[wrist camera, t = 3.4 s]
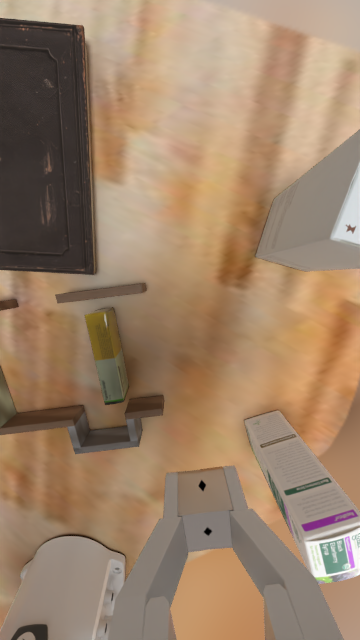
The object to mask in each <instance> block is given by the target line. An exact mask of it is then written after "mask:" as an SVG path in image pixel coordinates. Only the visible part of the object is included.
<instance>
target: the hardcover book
mask: <svg viewBox="0 0 360 640" xmlns="http://www.w3.org/2000/svg"><path fill="white" fill-rule="evenodd" d="M0 270H14V271H32V272H51V273H70V274H89V275H94V273H95V272H96V268H95V242H94V217H93V192H92V167H91V142H90V116H89V91H88V66H87V48H86V45H85V36H84V27H83V26H82V25H71V24H60V23H49V22H38V21H27V20H16V19H5V18H0Z"/></svg>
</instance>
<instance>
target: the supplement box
mask: <svg viewBox="0 0 360 640" xmlns="http://www.w3.org/2000/svg"><path fill="white" fill-rule="evenodd" d="M255 257H257V258H260V259H264V260H267V261H271V262H274V263H278V264H281V265H285V266H288V267H292V268H295V269H298V270H302V271H324V270H341V269H360V130H358V131H357V132H356V133H355V134H354V135H352V136H351V137H350V138H349V139H347V140H346V141H345V142H344V143H342V144H341V145H340V146H339V147H337V148H336V149H335V150H334V151H333V152H331V153H330V154H329V155H328V156H326V157H325V158H324V159H323V160H321V161H320V162H319V163H318V164H316V165H315V166H314V167H313V168H311V169H310V170H309V171H308V172H307V173H305V174H304V175H303V176H302V177H300V178H299V179H298V180H297V181H295V182H294V183H293V184H292V185H290V186H289V187H288V188H287V189H285V190H284V191H283V192H282V193H281V194H279V195H278V196H277V197H276V198H274V201H273V204H272V207H271V209H270V213H269V216H268V219H267V222H266V225H265V228H264V231H263V234H262V237H261V240H260V243H259V247H258V250H257V253H256V256H255Z"/></svg>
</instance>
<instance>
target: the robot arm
mask: <svg viewBox="0 0 360 640" xmlns="http://www.w3.org/2000/svg"><path fill="white" fill-rule="evenodd" d="M219 548H233V550H234V552H235V553H236V555H237V556H238V558H239V560H240V561H241V563H242V564H243V566H244V568H245V569H246V571H247V572H248V574H249V576H250V577H251V579H252V580H253V582H254V583H255V585H256V587H257V588H258V590H259V592H260V593H261V595H262V596H263V598H264V623H265V640H344V639H343V637H342V635H341V633H340V630H339V628H338V626H337V624H336V622H335V620H334V617H333V615H332V613H331V611H330V609H329V606H328V604H327V602H326V600H325V598H324V595H323V593H322V591H321V589H320V587H319V585H318V582H317V580H316V578H315V577H314V576H313V575H312V574H311V573H310V572H309V571H308V569H307V568H306V567H305V566H304V565H303V564H302V563H301V562H300V561H299V560H298V559H297V557H296V556H295V555H294V554H293V553H292V552H291V551H290V550H289V549H288V547H287V546H285V544H284V543H283V542H282V541H281V540H280V539H279V538H278V537H277V535H276V534H275V533H274V532H273V531H272V530H271V529H270V528H269V527H268V526H267V524H266V523H265V522H264V521H263V520H262V519H261V518H260V517H259V516H258V515H257V513H256V512H255V511H254V510H253V509H248V506H247V503H246V500H245V497H244V493H243V490H242V487H241V484H240V480H239V477H238V474H237V471H236V468H235V466H234V465H233V466H225V467H214V468H207V469H200V470H193V471H181V472H171V473H166V479H165V497H164V515H163V519H159V521H158V523H157V525H156V526H155V528H154V530H153V532H152V534H151V536H150V537H149V539H148V541H147V543H146V545H145V546H144V548H143V550H142V552H141V554H140V556H139V557H138V559H137V561H136V563H135V565H134V566H133V568H132V570H131V572H130V574H129V576H128V577H127V579H126V581H125V565H126V559H125V556H124V555H122V554H120V553H117V552H113V551H110V550H108V549H107V548H105V547H104V546H102V545H101V544H99V543H98V542H96V541H93V540H91V539H88V538H84V537H78V536H64V537H59V538H55V539H52V540H50V541H48V542H46V543H44V544H43V545H42V546H41V547H40V548H39V549H38V550H37V552H36V554H35V556H34V558H33V559H32V560H31V561H30V562H28V563H27V564H26V565H25V566H24V567H23V570H22V572H21V574H20V577H21V579H22V582H21V585H20V587H19V589H18V591H17V594H16V596H15V598H14V600H13V603H12V605H11V607H10V609H9V612H8V614H7V616H6V618H5V621H4V623H3V625H2V627H1V630H0V640H176V635H175V630H174V625H173V620H172V615H171V611H170V607H171V604H172V601H173V598H174V595H175V592H176V589H177V586H178V583H179V580H180V577H181V574H182V571H183V568H184V565H185V562H186V559H187V556H188V552H194V551H201V550H207V549H219Z"/></svg>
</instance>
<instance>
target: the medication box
mask: <svg viewBox="0 0 360 640" xmlns="http://www.w3.org/2000/svg"><path fill="white" fill-rule="evenodd" d="M85 319H86V323H87V328H88V332H89V337H90V341H91V345H92V350H93V354H94V359H95V363H96V367H97V372H98V376H99V381H100V385H101V389H102V394H103V398H104V402H105V405H110V404H117V403H121V402H124V400H125V397H126V394H127V391H128V389H129V383H128V378H127V373H126V367H125V362H124V357H123V352H122V347H121V342H120V336H119V331H118V326H117V321H116V316H115V311H114V309H113V307H112V308H104V309H99V310H96V311H94V312H91V313H89V314H86V315H85Z"/></svg>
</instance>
